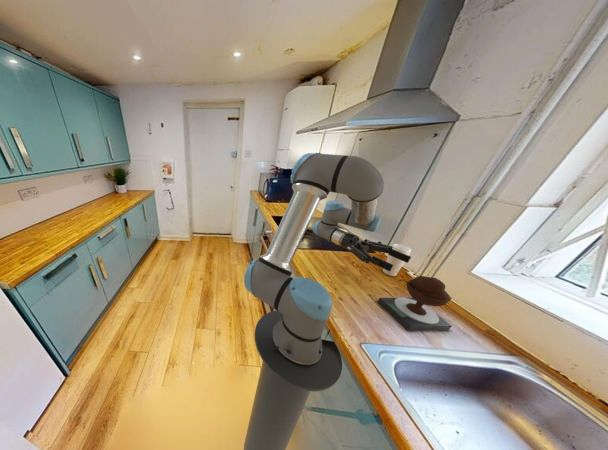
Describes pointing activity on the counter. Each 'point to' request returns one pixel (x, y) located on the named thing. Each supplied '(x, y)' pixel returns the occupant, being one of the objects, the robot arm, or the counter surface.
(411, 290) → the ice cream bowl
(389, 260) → the drinking glass
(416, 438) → the counter surface
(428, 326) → the kitchen scale
